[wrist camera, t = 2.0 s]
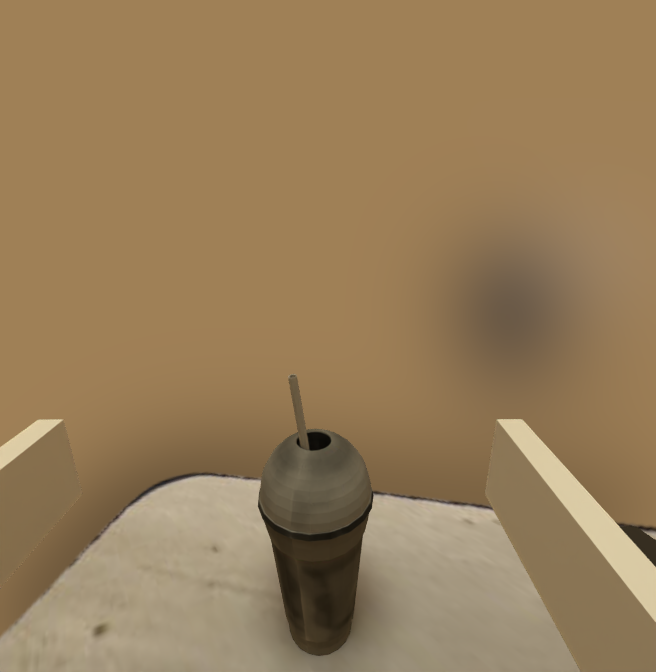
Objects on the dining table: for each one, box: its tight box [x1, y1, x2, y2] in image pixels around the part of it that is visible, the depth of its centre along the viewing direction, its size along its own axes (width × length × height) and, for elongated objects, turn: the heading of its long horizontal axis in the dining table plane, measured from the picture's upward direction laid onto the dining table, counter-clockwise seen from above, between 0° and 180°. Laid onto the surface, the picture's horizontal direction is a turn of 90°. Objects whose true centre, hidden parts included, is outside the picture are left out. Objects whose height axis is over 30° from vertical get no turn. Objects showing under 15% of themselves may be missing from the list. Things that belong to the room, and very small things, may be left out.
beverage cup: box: [258, 374, 373, 655], centre depth 25 cm, size 7×7×20 cm
